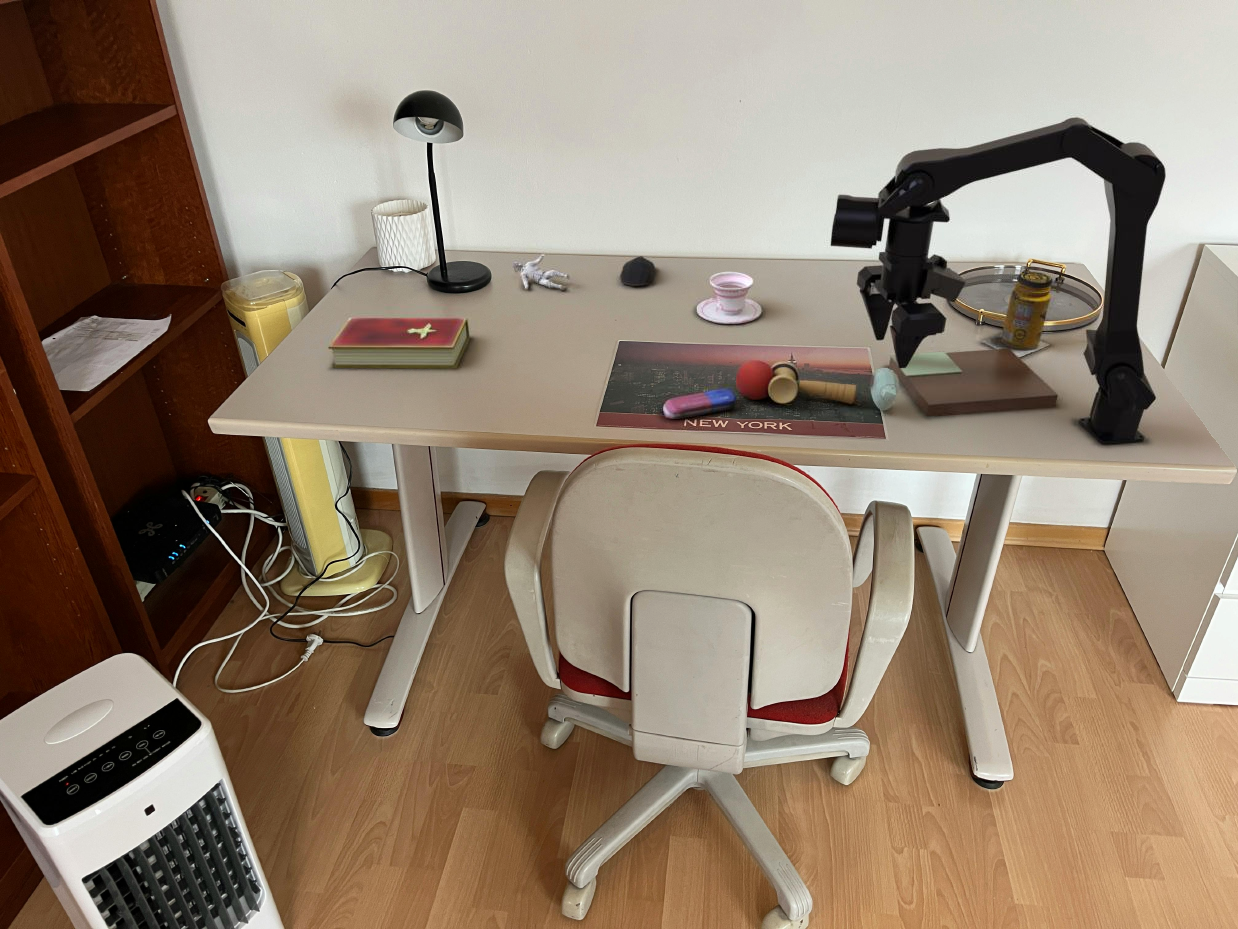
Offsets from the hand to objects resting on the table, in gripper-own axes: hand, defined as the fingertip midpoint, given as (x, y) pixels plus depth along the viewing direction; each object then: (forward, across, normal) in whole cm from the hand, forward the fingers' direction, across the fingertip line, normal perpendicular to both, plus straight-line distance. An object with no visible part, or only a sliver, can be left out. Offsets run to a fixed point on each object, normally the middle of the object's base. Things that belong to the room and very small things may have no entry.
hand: (890, 353), depth 132 cm
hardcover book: (+10, +31, +74) cm, 81 cm away
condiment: (+10, +18, -30) cm, 36 cm away
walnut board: (+9, +5, -16) cm, 19 cm away
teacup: (+10, +39, +15) cm, 43 cm away
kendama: (+10, +5, +12) cm, 16 cm away
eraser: (+10, +4, +27) cm, 29 cm away
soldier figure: (+10, +58, +49) cm, 77 cm away
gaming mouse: (+10, +60, +29) cm, 67 cm away
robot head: (+10, 0, 0) cm, 10 cm away
